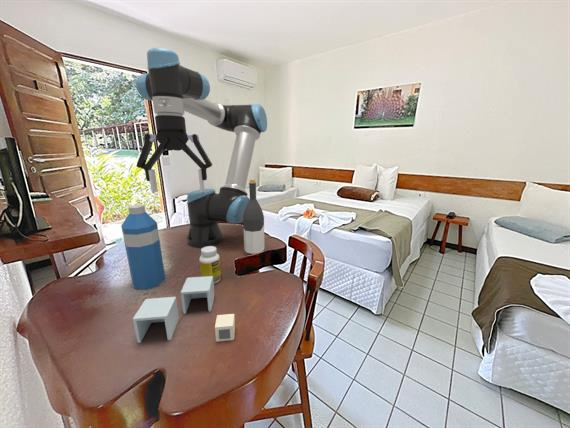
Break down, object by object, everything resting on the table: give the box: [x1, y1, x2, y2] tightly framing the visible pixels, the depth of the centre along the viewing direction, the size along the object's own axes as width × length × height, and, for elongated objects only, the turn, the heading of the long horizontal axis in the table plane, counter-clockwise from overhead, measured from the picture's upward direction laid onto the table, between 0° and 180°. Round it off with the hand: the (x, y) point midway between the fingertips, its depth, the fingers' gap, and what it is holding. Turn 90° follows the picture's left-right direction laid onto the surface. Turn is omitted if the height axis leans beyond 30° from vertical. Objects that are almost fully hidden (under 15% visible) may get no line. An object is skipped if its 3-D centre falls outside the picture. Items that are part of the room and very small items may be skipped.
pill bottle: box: [199, 245, 222, 285], centre depth 78 cm, size 6×6×11 cm
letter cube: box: [214, 313, 236, 342], centre depth 56 cm, size 4×4×4 cm
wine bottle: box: [242, 178, 266, 255], centre depth 94 cm, size 8×8×30 cm
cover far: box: [180, 276, 215, 315], centre depth 66 cm, size 7×7×6 cm
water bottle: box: [120, 204, 166, 291], centre depth 74 cm, size 9×9×25 cm
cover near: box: [132, 296, 180, 344], centre depth 57 cm, size 7×7×6 cm
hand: (178, 191), depth 73 cm, fingers open, 13 cm apart
